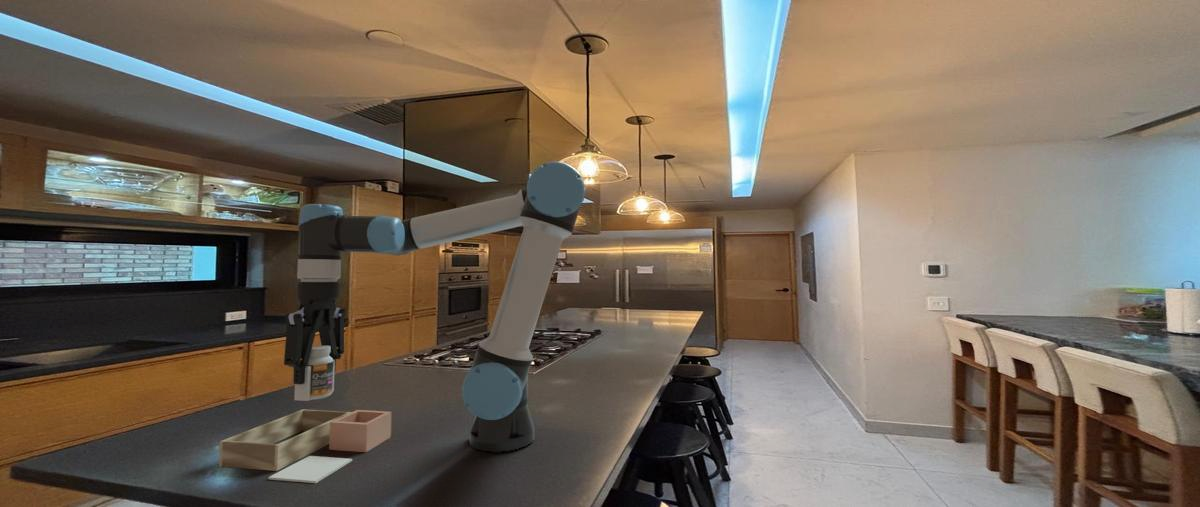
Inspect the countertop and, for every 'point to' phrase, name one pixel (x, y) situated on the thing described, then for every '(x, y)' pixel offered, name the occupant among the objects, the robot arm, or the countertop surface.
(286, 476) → the square cream tile
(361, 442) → the pink open box
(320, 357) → the pill bottle
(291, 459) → the oak crate
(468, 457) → the countertop surface
